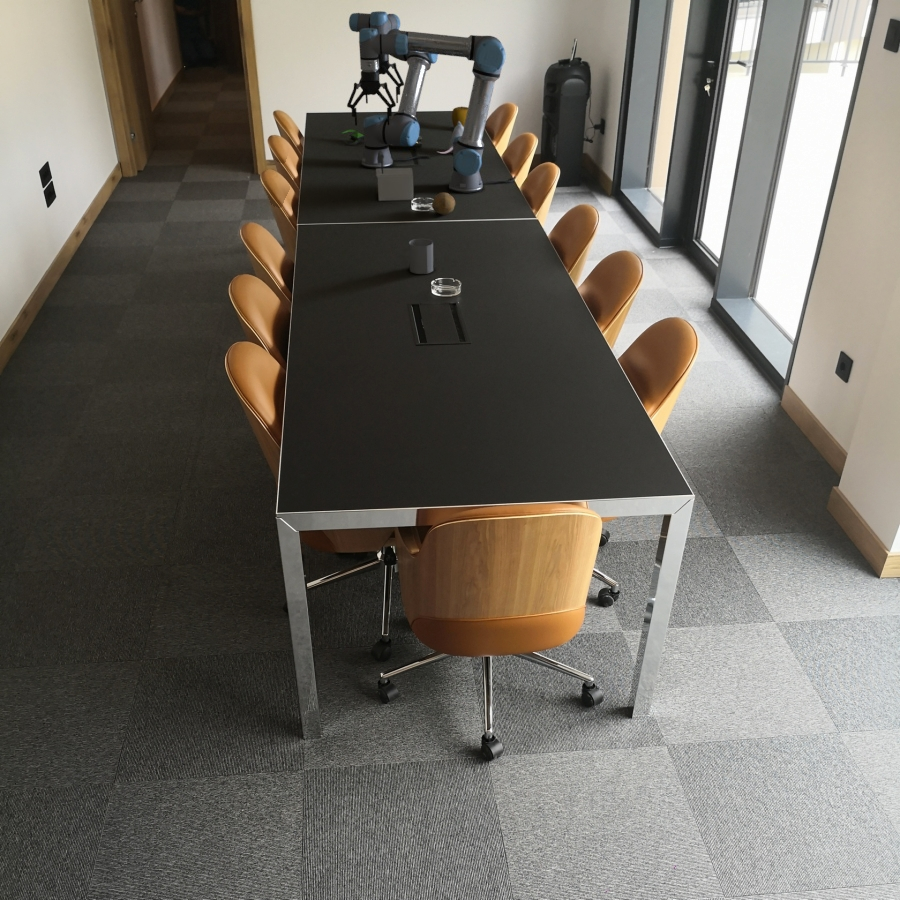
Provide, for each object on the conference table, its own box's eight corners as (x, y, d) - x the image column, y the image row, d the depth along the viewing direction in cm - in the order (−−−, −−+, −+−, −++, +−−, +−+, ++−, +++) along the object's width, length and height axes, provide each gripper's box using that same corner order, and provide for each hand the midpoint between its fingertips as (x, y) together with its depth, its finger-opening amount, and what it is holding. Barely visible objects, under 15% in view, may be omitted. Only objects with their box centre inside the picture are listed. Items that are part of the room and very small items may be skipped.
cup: (409, 265, 311) (408, 238, 306) (432, 265, 312) (431, 238, 307) (410, 274, 304) (409, 246, 299) (433, 273, 305) (433, 246, 299)
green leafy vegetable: (396, 126, 467) (340, 124, 465) (396, 141, 460) (339, 139, 458) (396, 136, 472) (341, 134, 470) (396, 151, 465) (340, 149, 463)
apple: (471, 132, 486) (471, 108, 479) (451, 132, 486) (451, 108, 479) (470, 128, 495) (471, 104, 488) (452, 128, 495) (452, 104, 488)
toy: (474, 152, 449) (475, 122, 441) (443, 160, 434) (443, 129, 426) (462, 149, 454) (462, 119, 446) (430, 157, 439) (430, 126, 431)
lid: (376, 176, 373) (375, 155, 368) (376, 170, 381) (375, 149, 376) (413, 176, 374) (412, 154, 369) (411, 170, 382) (411, 149, 377)
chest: (378, 200, 378) (377, 176, 373) (378, 194, 386) (377, 170, 381) (413, 199, 379) (413, 176, 374) (412, 193, 387) (411, 170, 382)
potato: (453, 208, 369) (453, 189, 365) (456, 218, 357) (456, 199, 353) (431, 208, 368) (430, 189, 364) (432, 218, 356) (432, 199, 352)
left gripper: (351, 52, 375) (354, 104, 386) (408, 52, 376) (409, 104, 388) (351, 50, 381) (354, 101, 393) (408, 49, 383) (409, 100, 394)
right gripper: (338, 72, 350) (342, 127, 362) (400, 71, 352) (402, 126, 363) (339, 69, 357) (342, 123, 368) (400, 68, 358) (401, 122, 369)
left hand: (382, 102), depth 390 cm, fingers open, 13 cm apart
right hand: (372, 124), depth 366 cm, fingers open, 13 cm apart
